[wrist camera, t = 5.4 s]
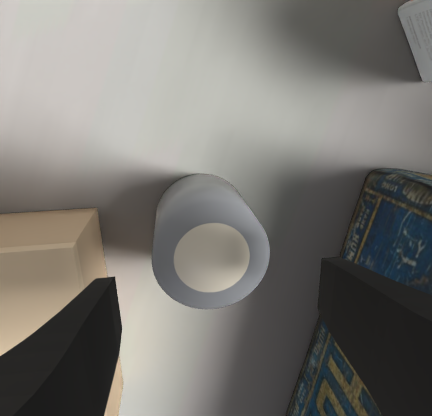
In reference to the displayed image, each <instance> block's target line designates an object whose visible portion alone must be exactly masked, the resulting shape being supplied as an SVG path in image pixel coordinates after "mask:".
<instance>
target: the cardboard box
mask: <svg viewBox="0 0 432 416" xmlns="http://www.w3.org/2000/svg"><path fill="white" fill-rule="evenodd" d="M68 242H76V244H77V250H78V255H79V261H80V266H81V272H82V277H83V283H84V289H85V288H86V287H87V286H88V285H89V284H90V283H91V282H92V281H93V280H95V279H96V278H106V277H107V271H106V264H105V257H104V250H103V244H102V237H101V230H100V223H99V217H98V210H97V208H84V209H68V210H53V211H37V212H22V213H7V214H0V248H3V247H16V246H29V245H42V244H55V243H68ZM122 389H123V378H122V372H121V365H120V358H119V357H118V362H117V366H116V370H115V374H114V378H113V382H112V386H111V390H110V394H109V398H108V402H107V406H106V411H107V416H118V414H119V408H120V402H121V395H122Z"/></svg>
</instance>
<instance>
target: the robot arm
mask: <svg viewBox="0 0 432 416" xmlns="http://www.w3.org/2000/svg"><path fill="white" fill-rule="evenodd" d="M318 309H319V312H320V314H321V316H322V318H323V320H324V322H325V324H326V326H327V328H328V330H329V332H330V334H331V335H332V337H333V338H334V340H335V342H336V343H337V345H338V346H339V348H340V349H341V351H342V352H343V354H344V355H345V357H346V358H347V360H348V361H349V363H350V364H351V366H352V367H353V369H354V370H355V372H356V373H357V375H358V376H359V378H360V379H361V381H362V382H363V384H364V385H365V387H366V388H367V390H368V391H369V393H370V395H371V396H372V398H373V400H374V401H375V403H376V405H377V407H378V409H379V411H380V412H381V414H382V416H432V295H430V294H427V293H425V292H422V291H420V290H417V289H414V288H412V287H409V286H407V285H404V284H402V283H399V282H397V281H395V280H392V279H390V278H388V277H385V276H383V275H381V274H378V273H376V272H374V271H372V270H369V269H367V268H365V267H363V266H360V265H358V264H356V263H353V262H351V261H348V260H346V259H343V258H340V257H333V258H322V262H321V274H320V286H319V297H318ZM121 333H122V324H121V317H120V310H119V303H118V296H117V289H116V282H115V277H106V278H96V279H95V280H93V281H92V282H91V283H90V284H89V285H88V286H87V287H86V288H85V289H84V290H82V291H81V292H80V293H79V294H78V295H77V296H76V297H75V298H74V299H73V300H72V301H71V302H69V303H68V304H67V305H66V306H65V307H64V308H63V309H62V310H61V311H59V312H58V313H57V314H56V315H55V316H53V317H52V318H51V319H50V320H49V321H47V322H46V323H45V324H44V325H43V326H41V327H40V328H39V329H38V330H36V331H35V332H34V333H33V334H31V335H30V336H29V337H27V338H26V339H24V340H23V341H22V342H20V343H19V344H17V345H16V346H14V347H13V348H11V349H10V350H9V351H7V352H6V353H4V354H3V355H1V356H0V416H104V414H105V410H106V406H107V402H108V398H109V394H110V390H111V386H112V382H113V378H114V374H115V370H116V366H117V362H118V357H119V351H120V343H121Z"/></svg>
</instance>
